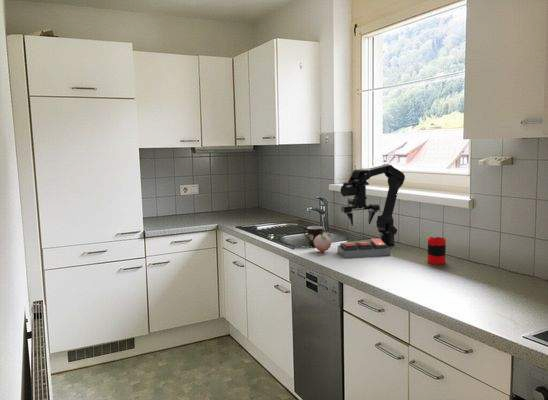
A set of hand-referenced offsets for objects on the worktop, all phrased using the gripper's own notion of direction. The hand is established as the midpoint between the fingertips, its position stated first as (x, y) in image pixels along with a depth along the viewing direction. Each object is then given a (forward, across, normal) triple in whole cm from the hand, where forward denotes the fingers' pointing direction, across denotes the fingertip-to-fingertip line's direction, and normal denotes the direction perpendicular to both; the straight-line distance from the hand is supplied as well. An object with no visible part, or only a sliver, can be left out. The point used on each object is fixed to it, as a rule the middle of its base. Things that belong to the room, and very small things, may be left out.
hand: (360, 224), depth 238 cm
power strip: (+13, +2, +9) cm, 16 cm away
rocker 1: (+8, +9, +9) cm, 15 cm away
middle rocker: (+8, +2, +9) cm, 12 cm away
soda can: (+13, -24, +33) cm, 43 cm away
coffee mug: (+13, +21, -16) cm, 29 cm away
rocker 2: (+8, -6, +9) cm, 14 cm away
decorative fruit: (+13, +20, 0) cm, 24 cm away
